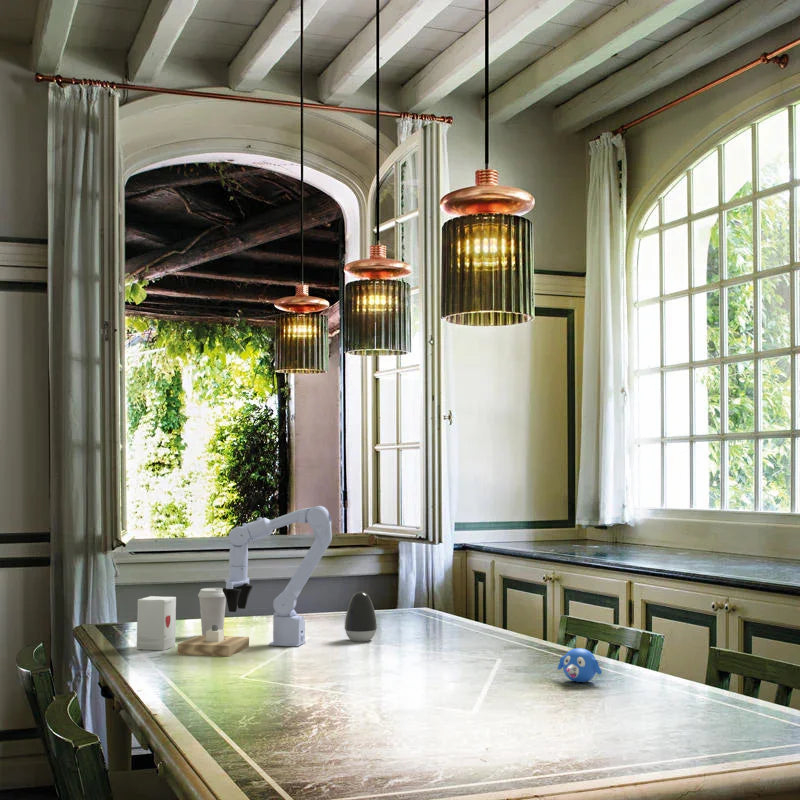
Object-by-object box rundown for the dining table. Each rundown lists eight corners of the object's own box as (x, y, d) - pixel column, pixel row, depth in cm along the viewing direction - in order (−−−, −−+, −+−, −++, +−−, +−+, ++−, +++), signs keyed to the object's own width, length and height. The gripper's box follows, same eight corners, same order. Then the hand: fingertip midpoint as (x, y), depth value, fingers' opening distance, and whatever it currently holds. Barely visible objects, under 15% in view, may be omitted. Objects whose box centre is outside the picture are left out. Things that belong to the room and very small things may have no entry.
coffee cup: (224, 638, 330) (224, 591, 331) (194, 638, 330) (195, 591, 331) (229, 633, 339) (230, 587, 340) (200, 633, 340) (201, 587, 341)
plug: (223, 649, 309) (223, 624, 310) (218, 652, 306) (218, 626, 306) (211, 649, 310) (211, 624, 311) (205, 651, 306) (205, 626, 307)
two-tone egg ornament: (378, 638, 331) (378, 589, 332) (374, 643, 320) (374, 593, 321) (347, 637, 332) (347, 589, 333) (342, 642, 321) (342, 593, 322)
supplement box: (163, 651, 308) (164, 600, 309) (135, 650, 310) (136, 599, 311) (176, 645, 317) (177, 596, 318) (149, 644, 318) (149, 595, 319)
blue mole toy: (544, 684, 259) (544, 650, 259) (565, 676, 268) (564, 643, 269) (589, 690, 252) (589, 655, 252) (608, 682, 262) (608, 648, 262)
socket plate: (249, 647, 314) (249, 637, 314) (229, 656, 298) (229, 645, 299) (199, 645, 318) (199, 635, 318) (177, 654, 302) (177, 643, 302)
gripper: (235, 563, 329) (233, 606, 328) (217, 567, 314) (215, 612, 314) (256, 564, 327) (254, 607, 326) (239, 568, 313) (237, 613, 312)
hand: (237, 610), depth 320 cm, fingers open, 7 cm apart
